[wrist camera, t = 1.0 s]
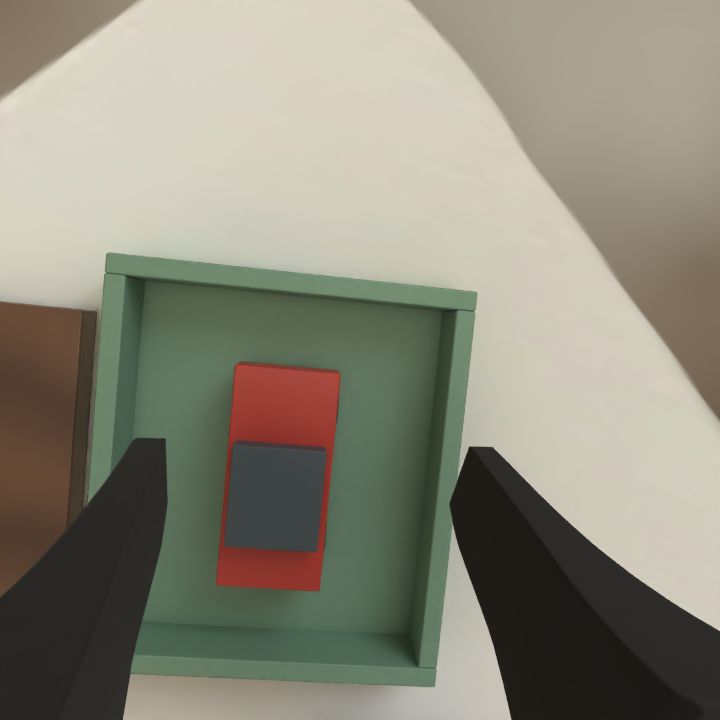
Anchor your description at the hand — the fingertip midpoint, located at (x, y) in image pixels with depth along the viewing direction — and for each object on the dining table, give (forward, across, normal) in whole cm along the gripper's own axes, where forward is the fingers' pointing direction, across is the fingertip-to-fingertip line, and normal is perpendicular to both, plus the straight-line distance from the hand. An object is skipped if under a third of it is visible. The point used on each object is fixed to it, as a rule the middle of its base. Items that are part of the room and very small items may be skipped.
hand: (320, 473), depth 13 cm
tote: (+9, 0, +8) cm, 12 cm away
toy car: (+9, 0, +8) cm, 12 cm away
